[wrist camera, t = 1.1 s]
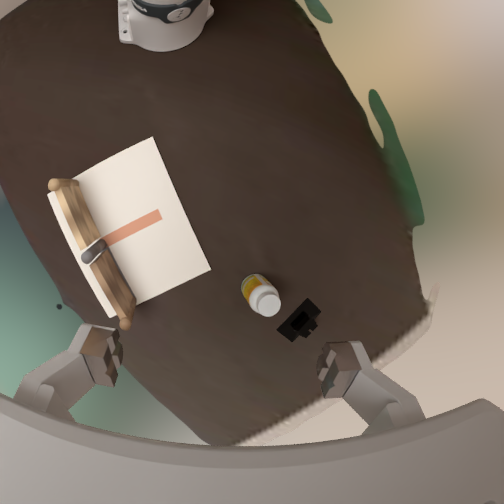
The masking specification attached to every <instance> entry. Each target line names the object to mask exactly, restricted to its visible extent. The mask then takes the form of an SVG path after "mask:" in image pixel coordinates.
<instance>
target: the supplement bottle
mask: <svg viewBox="0 0 504 504" xmlns="http://www.w3.org/2000/svg"><path fill="white" fill-rule="evenodd" d="M241 291H242V294H243V296H244V297H245V299H246V300H247V302H248V303H249V305H250V306H251V308H252V309H253V310H254V311H256V312H258V313H260V314H261V315H263V316H267V317H269V316H273V315H275V314H276V313H277V312H278V311H279V309H280V306H281V302H280V299H279V294H278V291H277V290H276V289H275V287H274V286H273V285H272V284H271V283H270V282H269V281H268V280H267V279H266V278H265V277H263V276H262V275H260V274H252V275H249V276H248V277H246V278H245V279H244V281H243V282H242V285H241Z"/></svg>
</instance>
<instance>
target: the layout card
mask: <svg viewBox="0 0 504 504" xmlns="http://www.w3.org/2000/svg"><path fill="white" fill-rule="evenodd" d="M73 179H76V180H78V181H79V188H80V191H81V193H82V195H83V198H84V200H85V203H86V205H87V207H88V209H89V212H90V214H91V216H92V218H93V221H94V223H95V225H96V227H97V229H98V231H99V234H100V236H101V237H99V238H98V239H97V240H95V241H94V242H93V243H92V244H90V245H89V246H88V247H86V248H85V249H83V250H80V248H79V246H78V244H77V242H76V240H75V238H74V236H73V234H72V232H71V229H70V227H69V225H68V223H67V221H66V218H65V216H64V214H63V211H62V209H61V207H60V204H59V202H58V199H57V197H56V194H55V192H54V191H52V192H51V193H49V194H47V195H48V198H49V200H50V203H51V205H52V208H53V210H54V212H55V215H56V217H57V220H58V222H59V224H60V226H61V229H62V231H63V233H64V235H65V237H66V239H67V242H68V244H69V246H70V248H71V250H72V252H73V254H74V256H75V258H76V260H77V262H78V264H79V266H80V268H81V269H82V271H83V273H84V275H85V277H86V279H87V280H88V282H89V284H90V286H91V288H92V289H93V291H94V293H95V295H96V296H97V298H98V300H99V301H100V303H101V305H102V306H103V308H104V310H105V311H106V313H107V315H108V316H109V318H111V317H113V316H115V315H117V314H116V312H115V310H114V309H113V307H112V305H111V304H110V302H109V300H108V299H107V297H106V295H105V294H104V292H103V290H102V288H101V287H100V285H99V283H98V281H97V279H96V278H95V276H94V274H93V272H92V270H91V268H90V266H89V265H90V264H91V263H92V262H93V261H94V260H95V259H96V258H97V257H98V256H99V255H100V254H101V253H102V252H103V251H105V250H107V249H108V251H109V253H110V255H111V257H112V259H113V261H114V263H115V265H116V266H117V268H118V270H119V272H120V274H121V276H122V278H123V279H124V281H125V283H126V285H127V287H128V288H129V290H130V292H131V294H132V295H133V296H134V297H135V298H136V300H137V302H136V305H138V304H140V303H142V302H144V301H146V300H148V299H150V298H153V297H155V296H157V295H159V294H161V293H163V292H165V291H167V290H169V289H171V288H173V287H176V286H178V285H180V284H182V283H184V282H186V281H188V280H190V279H192V278H194V277H196V276H198V275H201V274H203V273H205V272H207V271H209V270H211V268H210V266H209V264H208V262H207V260H206V258H205V255H204V253H203V251H202V249H201V247H200V245H199V243H198V240H197V238H196V236H195V234H194V232H193V229H192V227H191V225H190V223H189V221H188V218H187V216H186V214H185V212H184V209H183V207H182V205H181V203H180V200H179V198H178V196H177V193H176V191H175V189H174V187H173V184H172V182H171V180H170V177H169V175H168V173H167V170H166V168H165V165H164V163H163V161H162V158H161V156H160V153H159V151H158V149H157V146H156V144H155V141H154V139H153V137H151V138H148V139H146V140H144V141H142V142H140V143H138V144H136V145H134V146H132V147H130V148H127V149H125V150H123V151H122V152H120V153H118V154H116V155H114V156H112V157H110V158H108V159H106V160H104V161H102V162H101V163H99V164H97V165H95V166H93V167H92V168H90V169H88V170H86V171H85V172H83V173H81V174H79V175H78V176H76V177H74V178H73ZM100 239H103V240H105V241H106V247H105V248H104V249H103V250H102V251H101V252H100V253H99V254H98V255H97V256H96V257H95V258H94V259H93V260H92V262H91V263H89V264H85V263H83V262H82V260H81V255H82V253H84V252H85V251H86V250H87V249H88V248H90V247H91V246H92V245H93V244H94V243H96V242H97V241H98V240H100Z"/></svg>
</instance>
